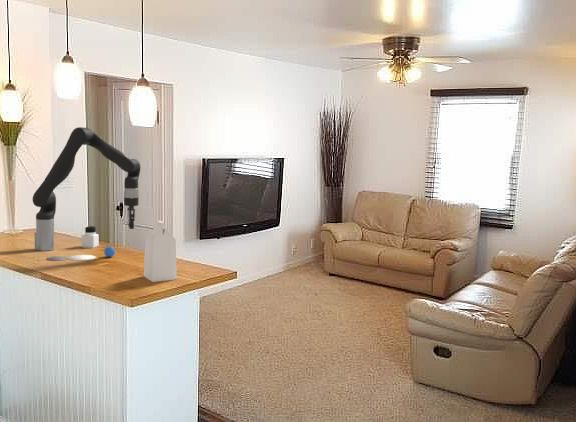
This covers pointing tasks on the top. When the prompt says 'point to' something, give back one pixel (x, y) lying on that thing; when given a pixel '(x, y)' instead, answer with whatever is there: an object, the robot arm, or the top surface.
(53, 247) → the robot arm
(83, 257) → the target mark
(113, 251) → the ball
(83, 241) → the medicine bottle
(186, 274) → the top surface
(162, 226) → the milk
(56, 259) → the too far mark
